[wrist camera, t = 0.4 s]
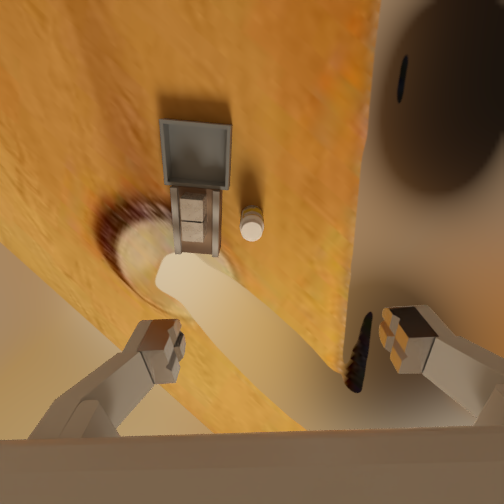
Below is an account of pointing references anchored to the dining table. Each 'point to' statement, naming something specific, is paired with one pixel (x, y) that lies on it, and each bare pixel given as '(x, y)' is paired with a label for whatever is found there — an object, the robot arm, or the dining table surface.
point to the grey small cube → (194, 230)
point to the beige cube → (193, 206)
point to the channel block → (213, 221)
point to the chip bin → (196, 153)
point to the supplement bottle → (251, 223)
